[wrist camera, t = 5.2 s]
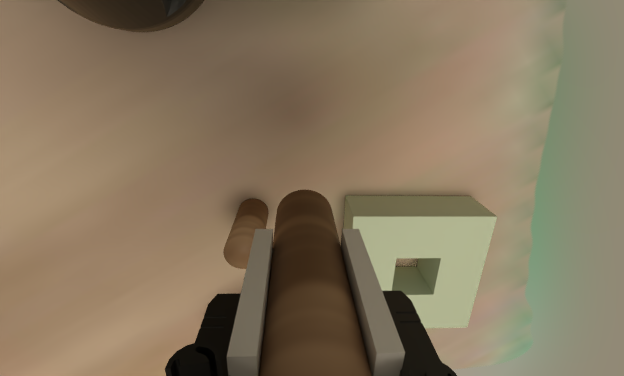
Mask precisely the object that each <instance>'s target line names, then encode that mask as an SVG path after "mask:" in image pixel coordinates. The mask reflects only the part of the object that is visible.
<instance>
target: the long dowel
mask: <svg viewBox="0 0 624 376" xmlns="http://www.w3.org/2000/svg"><path fill="white" fill-rule="evenodd" d="M259 376H372V373H371V369H370V365H369V361H368V357H367V353H366V349H365V344H364V340H363V336H362V332H361V328H360V324H359V320H358V316H357V312H356V308H355V304H354V299H353V295H352V291H351V287H350V283H349V279H348V275H347V271H346V267H345V263H344V259H343V254H342V250H341V246H340V242H339V238H338V234H337V230H336V226H335V222H334V218H333V214H332V209H331V206H330V204H329V202H328V201H327V199H326V198H325V197H324V196H322V195H321V194H319V193H317V192H315V191H312V190H298V191H294V192H292V193H290V194H288V195H287V196H286V197H284V198H283V200H282V201H281V202H280V204H279V206H278V209H277V214H276V223H275V232H274V241H273V253H272V262H271V271H270V280H269V289H268V297H267V306H266V315H265V324H264V333H263V342H262V351H261V360H260V369H259Z"/></svg>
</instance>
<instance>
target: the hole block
mask: <svg viewBox="0 0 624 376" xmlns="http://www.w3.org/2000/svg"><path fill="white" fill-rule="evenodd" d="M496 219H497V216H496V215H494V214H493V213H492V212H490V211H489V210H488V209H487V208H485V207H484V206H483V205H481V204H480V203H479V202H478V201H476V200H475V199H474V198H472V197H471V196H346V198H345V212H344V226H343V229H359V231H360V233H361V236H362V239H363V241H364V244H365V247H366V249H367V252H368V255H369V257H370V260H371V263H372V265H373V268H374V271H375V273H376V276H377V279H378V281H379V284H380V287H381V289H382V291H400V290H401V291H402V292H403V293H404V294H405V295H406V296H407V297H408V298H409V299H410V300H411V301H412V303H413V305H414V307H415V309H416V311H417V314H418V315H419V317H420V320H421V323H422V324H423V326H424V328H465V327H467V326H468V322H469V319H470V315H471V311H472V308H473V304H474V300H475V296H476V293H477V289H478V285H479V282H480V278H481V274H482V271H483V267H484V263H485V259H486V256H487V252H488V248H489V245H490V241H491V237H492V234H493V230H494V226H495V222H496ZM396 258H418V263H417V266H411V267H395V265H396Z"/></svg>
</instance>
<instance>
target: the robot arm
mask: <svg viewBox="0 0 624 376" xmlns="http://www.w3.org/2000/svg"><path fill="white" fill-rule="evenodd" d="M58 1H59V2H60V3H62V4H63V5H65V6H66V7H67V8H69V9H70V10H72V11H74V12H75V13H77V14H79V15H81V16H82V17H84V18H86V19H89V20H91V21H93V22H95V23H98V24H101V25H104V26H107V27H111V28H115V29H121V30H126V31H133V32H152V31H158V30H162V29H166V28H169V27H171V26H174V25H176V24H178V23H180V22H181V21H183V20H184V19H186V18H187V17H189V16H190V15H191V14H192V13H193V12H194V11H195V10H196V9H197V8H198V7H199V6H200V5H201V3H202V2H203V1H204V0H58ZM341 250H342V254H343V259H344V263H345V267H346V271H347V275H348V279H349V283H350V287H351V291H352V295H353V299H354V304H355V308H356V312H357V316H358V320H359V324H360V328H361V332H362V336H363V340H364V344H365V349H366V353H367V357H368V361H369V365H370V369H371V373H372V376H457V375H456V373H455V372H454V371H453V370H452V369H451V368H449V367H448V366H447V365H445V364H443V363H442V362H441V361H440V359H439V357H438V355H437V353H436V351H435V349H434V347H433V345H432V342H431V340H430V338H429V336H428V334H427V332H426V330H425V328H424V326H423V324H422V323H421V320H420V317H419V315H418V314H417V311H416V309H415V307H414V305H413V303H412V301H411V300H410V299H409V298H408V297H407V296H406V295H405V294H404V293H403V292H402V291H401V290H400V291H382V289H381V287H380V284H379V281H378V279H377V276H376V273H375V271H374V268H373V265H372V263H371V260H370V257H369V255H368V252H367V249H366V247H365V244H364V241H363V239H362V236H361V233H360V231H359V229H342V238H341ZM272 253H273V229H255V233H254V238H253V242H252V247H251V251H250V256H249V260H248V264H247V269H246V273H245V278H244V282H243V286H242V291H241V294H217V295H216V296H215V298H214V299H213V300H212V301H211V302H210V303H209V304H208V307H207V310H206V313H205V315H204V319H203V321H202V324H201V329H200V330H199V333H198V335H197V338H196V341H195V343H194V344H191V345H187V346H185V347H183V348H182V349H180V350H179V351H177V352H176V353H175V354H174V355H173V356H172V357H171V358H170V359H169V361H168V363H167V366H166V368H165V372H166V376H259V369H260V360H261V351H262V342H263V333H264V324H265V315H266V306H267V297H268V289H269V280H270V271H271V262H272Z"/></svg>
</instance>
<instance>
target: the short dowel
mask: <svg viewBox="0 0 624 376" xmlns="http://www.w3.org/2000/svg"><path fill="white" fill-rule="evenodd" d="M267 218H268V208H267V206H266V205H265V203H264V202H262V201H261V200H258V199H248V200H246V201H244V202H243V203H242V204H241V205H240V207H239V210H238V213H237V215H236V218H235V221H234V223H233V226H232V229H231V231H230V234H229V237H228V239H227V242H226V245H225V247H224V257H225V259H226V261H227V262H228V263H229V264H230V265H232V266H234V267H236V268H240V269H246V268H247V264H248V260H249V256H250V251H251V247H252V242H253V238H254V233H255V229H266V224H267Z"/></svg>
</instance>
